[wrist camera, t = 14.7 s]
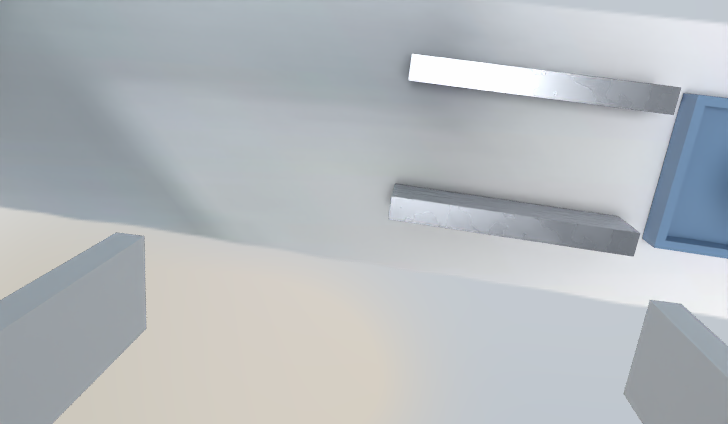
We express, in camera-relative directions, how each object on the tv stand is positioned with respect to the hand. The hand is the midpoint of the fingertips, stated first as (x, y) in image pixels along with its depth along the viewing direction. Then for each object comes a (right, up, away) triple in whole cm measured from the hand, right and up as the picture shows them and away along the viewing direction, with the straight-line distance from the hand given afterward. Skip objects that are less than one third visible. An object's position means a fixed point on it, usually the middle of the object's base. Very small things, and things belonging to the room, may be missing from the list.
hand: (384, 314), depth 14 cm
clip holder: (+10, +7, +23) cm, 26 cm away
